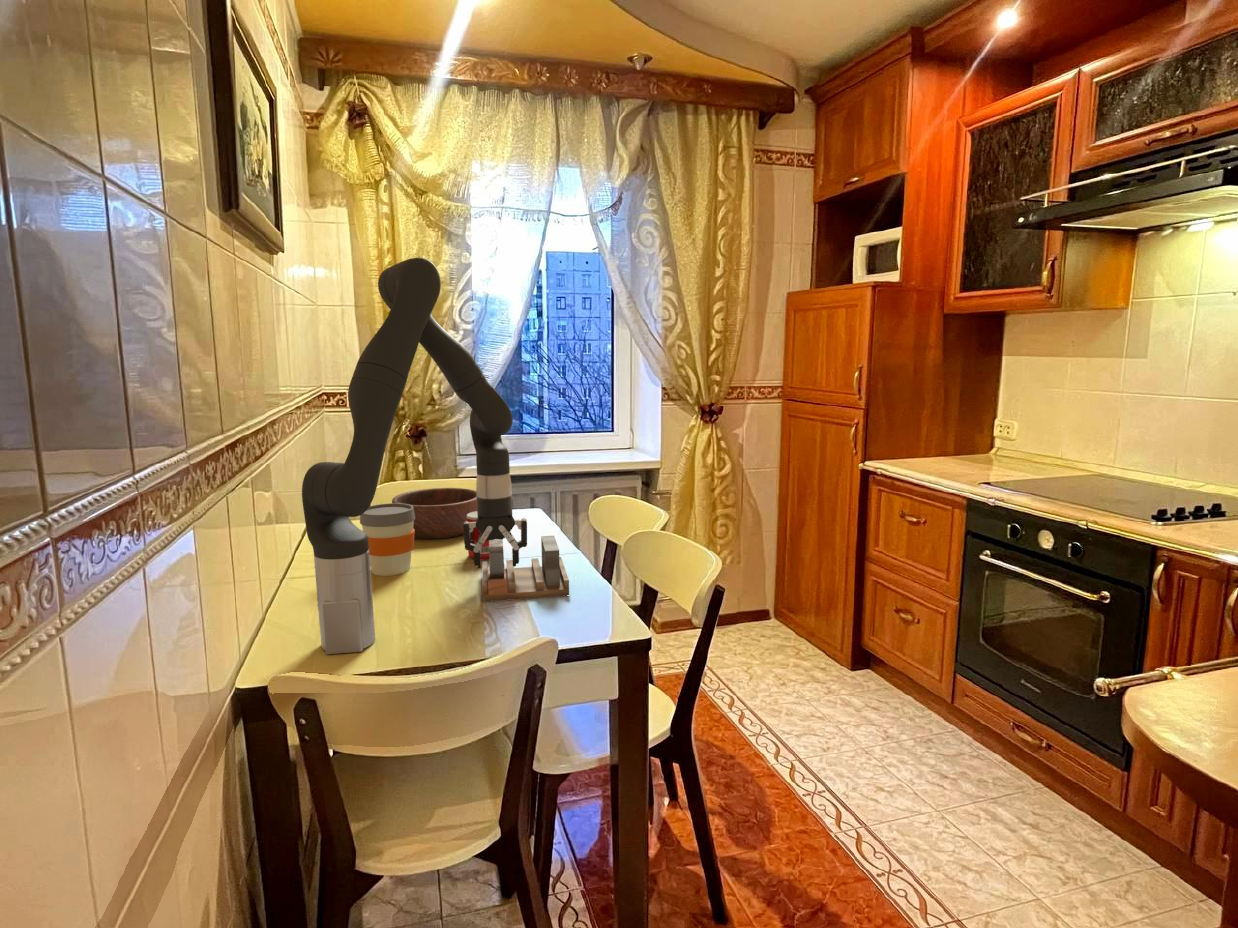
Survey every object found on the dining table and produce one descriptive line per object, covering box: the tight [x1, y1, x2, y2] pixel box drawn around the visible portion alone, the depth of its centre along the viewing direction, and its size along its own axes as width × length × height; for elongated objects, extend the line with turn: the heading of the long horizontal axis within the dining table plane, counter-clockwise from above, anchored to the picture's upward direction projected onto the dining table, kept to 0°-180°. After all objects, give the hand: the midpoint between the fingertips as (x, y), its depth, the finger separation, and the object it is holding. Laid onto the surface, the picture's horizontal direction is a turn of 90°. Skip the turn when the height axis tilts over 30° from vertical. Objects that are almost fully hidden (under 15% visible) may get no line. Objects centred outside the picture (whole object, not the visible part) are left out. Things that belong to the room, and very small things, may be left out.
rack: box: [481, 535, 570, 603], centre depth 160 cm, size 17×18×10 cm
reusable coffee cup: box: [359, 502, 415, 577], centre depth 172 cm, size 13×13×15 cm
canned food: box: [467, 511, 489, 561], centre depth 182 cm, size 8×8×11 cm
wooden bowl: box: [391, 487, 477, 540], centre depth 207 cm, size 25×25×10 cm
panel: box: [488, 539, 505, 579], centre depth 159 cm, size 12×3×8 cm, turn 10°
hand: (497, 566), depth 159 cm, fingers open, 7 cm apart
